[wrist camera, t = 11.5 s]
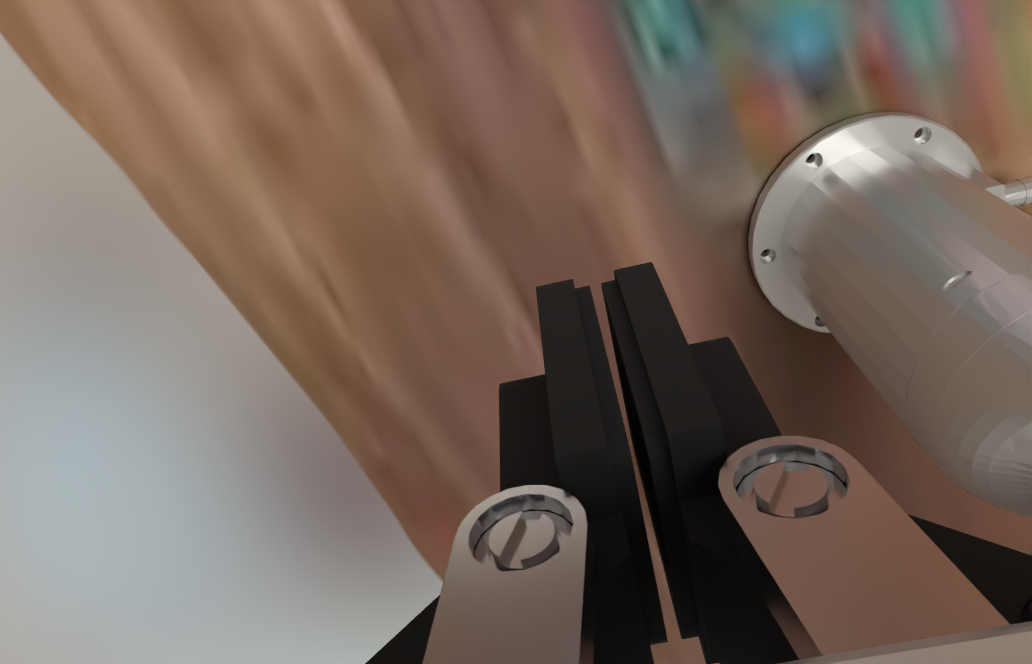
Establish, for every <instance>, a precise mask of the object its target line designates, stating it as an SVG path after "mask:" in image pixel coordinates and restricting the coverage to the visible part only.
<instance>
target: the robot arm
mask: <svg viewBox="0 0 1032 664" xmlns="http://www.w3.org/2000/svg"><path fill="white" fill-rule="evenodd" d="M918 129H919V131H918V133H917V134H916V135H915V133H916V132H917V130H918ZM811 154H812V158H811V159H810V160H808V161H806V159H807V157H808V156H809V155H811ZM1029 204H1032V176H1030V177H1025V178H1021V179H1017V180H1015V181H1014V182H1009V183H1005V184H1001V183H1000V182H998V181H996V180H994V179H992V178H990V177H989V176H987V175H985V174H984V173H983V170H982V167H981V164H980V162H979V160H978V159H977V157H976V155H975V154H974V152H973V151H972V149H971V148H970V146H969V145H968V144H967V143H966V142H965V141H963V140H962V139H961V138H960V137H959V136H958V135H957V134H956V133H955V132H953V131H952V130H950V129H948V128H946V127H944V126H943V125H941V124H939V123H937V122H935V121H932V120H930V119H927V118H925V117H922V116H919V115H916V114H909V113H903V112H896V111H893V112H874V113H868V114H864V115H860V116H856V117H851V118H848V119H845V120H843V121H841V122H838V123H836V124H834V125H831V126H829V127H827V128H825V129H823V130H822V131H820V132H818V133H817V134H815V135H814V136H812V137H811V138H809V139H807V140H806V141H804V142H803V143H802V144H801V145H800V146H799V147H798V148H796V149H795V150H794V151H793V152H792V153H791V154H790V155H789V156H787V157H786V158H785V160H784V161H783V162H782V163H781V164H780V166H779V167H778V168H777V169H776V171H775V172H774V173H773V174H772V175H771V177H770V178H769V180H768V182H767V184H766V185H765V187H764V189H763V191H762V192H761V194H760V196H759V198H758V201H757V204H756V206H755V209H754V212H753V215H752V217H751V224H750V230H749V236H748V245H749V259H750V263H751V267H752V270H753V274H754V277H755V279H756V281H757V283H758V284H759V286H760V288H761V290H762V292H763V293H764V294H765V296H766V297H767V298H768V300H769V301H770V302H771V304H772V305H773V306H774V307H775V308H776V309H777V310H778V311H779V312H781V313H782V314H783V315H784V316H785V317H786V318H788V319H790V320H792V321H793V322H795V323H797V324H799V325H800V326H802V327H805V328H808V329H811V330H814V331H818V332H823V333H831V334H832V335H833V336H834V337H835V339H836V340H837V341H838V343H839V344H840V345H841V346H842V348H843V349H844V350H845V351H846V353H847V354H848V355H849V356H850V358H851V359H852V360H853V362H854V363H855V364H856V365H857V367H858V368H859V369H860V370H861V372H862V373H863V374H864V375H865V377H866V378H867V379H868V381H869V382H870V383H871V384H872V386H873V387H874V388H875V389H876V391H877V392H878V393H879V395H880V396H881V397H882V398H883V400H884V401H885V402H886V403H887V405H888V406H889V407H890V408H891V410H892V411H893V412H894V414H895V415H896V416H897V417H898V419H899V420H900V421H901V422H902V424H903V425H904V426H905V427H906V429H907V430H908V431H909V433H910V434H911V435H912V436H913V438H914V439H915V440H916V441H917V443H918V444H919V445H920V446H921V447H922V449H923V450H924V451H925V452H926V454H927V455H928V456H929V457H930V458H931V460H932V461H933V462H934V463H935V465H936V466H937V467H938V468H939V469H940V470H941V471H942V472H943V473H944V474H945V475H946V476H947V477H948V478H949V479H950V480H951V481H953V482H954V483H955V484H957V485H958V486H959V487H961V488H962V489H963V490H965V491H966V492H968V493H969V494H971V495H973V496H975V497H977V498H979V499H981V500H983V501H985V502H987V503H989V504H990V505H993V506H995V507H997V508H1000V509H1003V510H1006V511H1009V512H1012V513H1016V514H1019V515H1022V516H1025V517H1029V518H1032V215H1030V216H1029V215H1028V214H1026V213H1024V212H1022V211H1021V210H1019V209H1017V208H1016V207H1014V206H1018V205H1020V206H1024V205H1029ZM766 249H767V251H766V252H765V253H763V254H761V253H762V252H763V251H764V250H766ZM614 276H615V280H614V281H609V282H604V283H601V284H602V291H603V296H604V301H605V306H606V311H607V316H608V322H609V327H610V332H611V337H612V342H613V347H614V352H615V357H616V363H617V368H618V373H619V378H620V383H621V388H622V393H623V398H624V404H625V409H626V414H627V419H628V424H629V429H630V434H631V439H632V444H633V448H634V453H635V457H636V461H637V465H638V469H639V473H640V477H641V481H642V485H643V489H644V492H645V496H646V500H647V504H648V508H649V512H650V516H651V520H652V524H653V528H654V532H655V536H656V540H657V544H658V548H659V552H660V555H661V559H662V563H663V567H664V571H665V575H666V579H667V583H668V587H669V591H670V595H671V599H672V603H673V607H674V611H675V615H676V618H677V622H678V626H679V630H680V634H681V637H682V639H686V638H692V637H697V636H699V640H700V643H701V647H702V650H703V654H704V658H705V661H706V664H713V663H720V664H1032V548H1031V549H1030V550H1029V551H1028V552H1027V554H1025V553H1022V552H1019V551H1016V550H1013V549H1010V548H1007V547H1004V546H1001V545H998V544H995V543H992V542H989V541H986V540H983V539H980V538H977V537H974V536H971V535H968V534H965V533H962V532H959V531H956V530H953V529H950V528H947V527H944V526H941V525H938V524H935V523H932V522H929V521H926V520H923V519H920V518H917V517H914V516H911V515H908V514H907V513H906V512H905V511H904V510H903V509H902V508H901V507H900V506H899V505H898V504H897V503H896V502H895V501H894V500H893V498H892V497H891V496H890V495H889V494H888V493H887V492H886V491H885V490H884V489H883V488H882V487H881V486H880V485H879V483H878V482H877V481H876V480H875V479H874V478H873V477H872V476H871V475H870V474H869V473H868V472H867V471H866V470H865V469H864V467H863V466H862V465H861V464H860V463H859V462H858V461H857V460H856V459H855V458H854V457H852V456H851V455H850V454H848V453H847V452H846V451H845V450H843V449H842V448H840V447H838V446H836V445H833V444H831V443H828V442H826V441H824V440H820V439H815V438H810V437H804V436H782V434H781V432H780V431H779V429H778V427H777V425H776V423H775V421H774V419H773V418H772V416H771V414H770V412H769V410H768V408H767V406H766V404H765V403H764V401H763V399H762V397H761V395H760V393H759V391H758V390H757V388H756V386H755V384H754V382H753V380H752V378H751V377H750V375H749V373H748V371H747V369H746V367H745V365H744V363H743V362H742V360H741V358H740V356H739V354H738V352H737V350H736V349H735V347H734V345H733V343H732V342H731V340H730V339H729V338H728V337H723V338H719V339H714V340H709V341H704V342H699V343H694V344H690V345H688V344H687V341H686V339H685V337H684V334H683V332H682V330H681V328H680V325H679V323H678V321H677V318H676V316H675V314H674V311H673V309H672V307H671V305H670V302H669V300H668V298H667V295H666V293H665V291H664V288H663V286H662V284H661V282H660V279H659V277H658V275H657V272H656V270H655V268H654V265H653V264H652V262H649V263H645V264H640V265H636V266H631V267H626V268H622V269H617V270H614ZM536 293H537V302H538V312H539V321H540V330H541V339H542V348H543V357H544V367H545V375H540V376H535V377H530V378H525V379H520V380H516V381H511V382H506V383H501V384H500V386H499V419H500V492H499V493H497V494H495V495H492V496H490V497H488V498H487V499H486V500H484V501H483V502H481V503H480V504H478V505H477V506H475V507H474V508H473V509H472V510H471V511H470V513H469V514H468V515H467V516H466V517H465V518H464V519H463V521H462V522H461V524H460V527H459V529H458V531H457V533H456V535H455V539H454V543H453V547H452V551H451V555H450V558H449V562H448V566H447V570H446V574H445V578H444V582H443V586H442V590H441V593H440V595H439V596H438V597H437V598H436V599H435V600H434V601H433V602H432V603H430V604H429V605H428V606H427V607H426V608H425V609H424V610H423V611H422V612H421V613H420V614H419V615H417V616H416V617H415V618H414V619H413V620H412V621H411V622H410V623H409V624H408V625H407V626H406V627H404V628H403V629H402V630H401V631H400V632H399V633H398V634H397V635H396V636H395V637H394V638H393V639H391V640H390V641H389V642H388V643H387V644H386V645H385V646H384V647H383V648H382V649H381V650H380V651H378V652H377V653H376V654H375V655H374V656H373V657H372V658H371V659H370V660H369V661H368V662H367V663H365V664H654V662H653V657H652V652H651V647H650V645H652V644H658V643H663V642H668V641H667V635H666V630H665V625H664V620H663V615H662V610H661V605H660V600H659V595H658V590H657V584H656V579H655V574H654V569H653V564H652V559H651V554H650V549H649V544H648V539H647V534H646V529H645V524H644V519H643V514H642V509H641V503H640V498H639V493H638V488H637V483H636V478H635V473H634V468H633V463H632V458H631V454H630V449H629V444H628V440H627V436H626V431H625V427H624V423H623V419H622V415H621V411H620V407H619V403H618V399H617V395H616V391H615V387H614V383H613V379H612V375H611V371H610V367H609V362H608V358H607V354H606V350H605V346H604V342H603V338H602V334H601V330H600V326H599V322H598V318H597V314H596V310H595V306H594V302H593V298H592V294H591V290H590V286H586V287H581V288H576V289H575V288H574V283H573V279H571V280H566V281H562V282H557V283H552V284H548V285H543V286H539V287H536Z"/></svg>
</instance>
